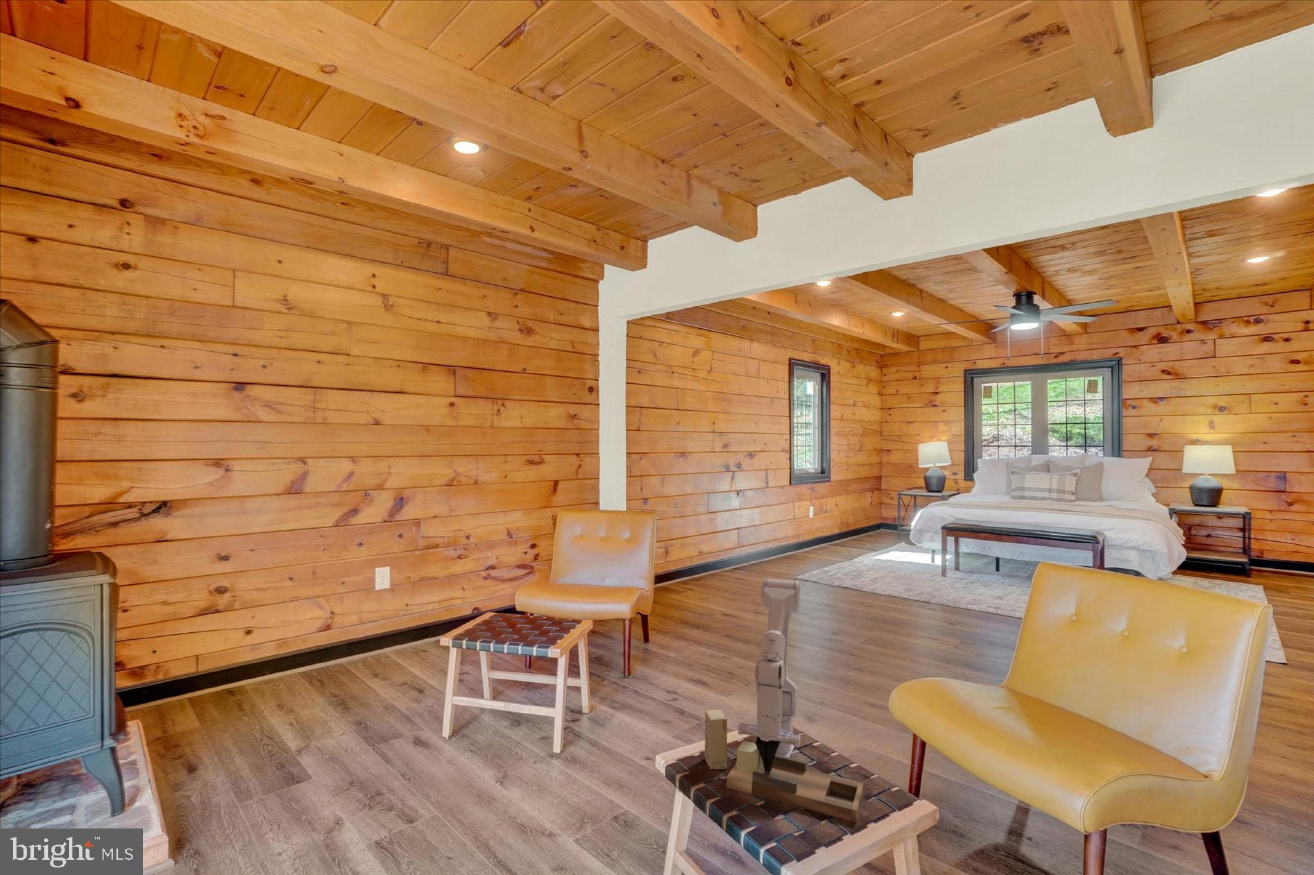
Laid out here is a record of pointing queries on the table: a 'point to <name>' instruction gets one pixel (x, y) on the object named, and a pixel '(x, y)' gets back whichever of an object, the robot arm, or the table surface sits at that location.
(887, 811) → the table surface
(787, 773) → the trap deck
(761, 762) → the sage block
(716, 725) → the skincare box
